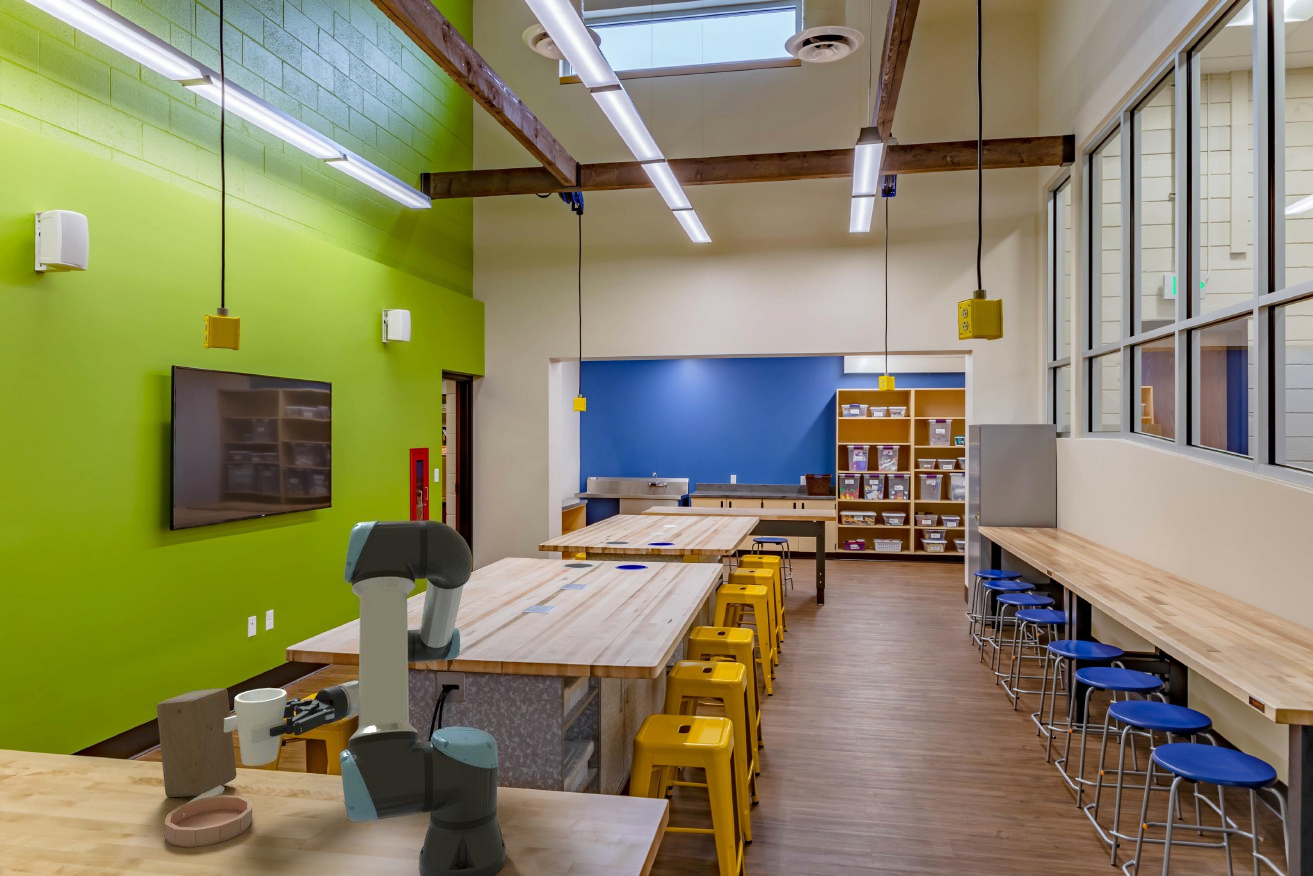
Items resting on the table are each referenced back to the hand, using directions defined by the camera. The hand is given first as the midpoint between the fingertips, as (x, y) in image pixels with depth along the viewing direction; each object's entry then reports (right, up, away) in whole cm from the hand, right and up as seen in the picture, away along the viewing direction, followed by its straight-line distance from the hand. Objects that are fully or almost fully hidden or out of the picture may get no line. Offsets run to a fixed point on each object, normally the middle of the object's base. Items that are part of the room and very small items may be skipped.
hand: (238, 731), depth 157 cm
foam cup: (+2, -7, +4) cm, 8 cm away
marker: (-11, -18, +7) cm, 22 cm away
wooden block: (-15, -18, +13) cm, 27 cm away
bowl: (-4, -18, -3) cm, 19 cm away
